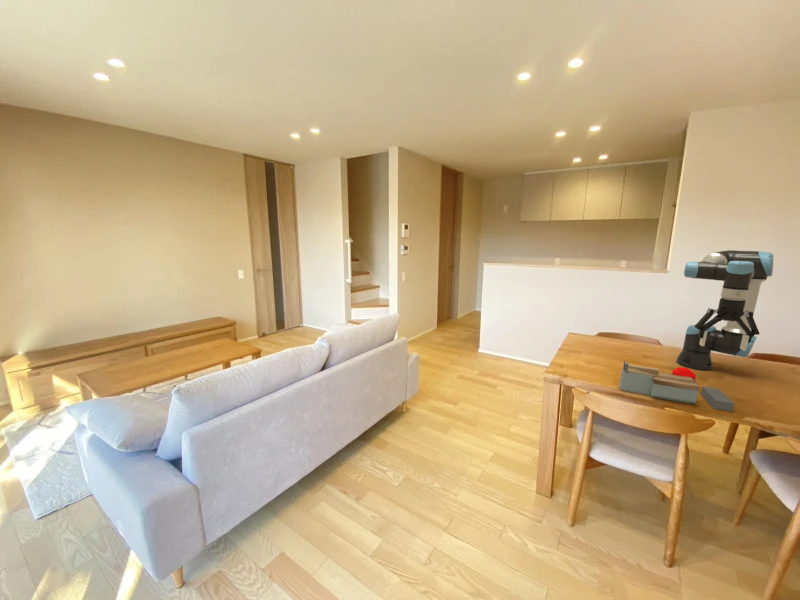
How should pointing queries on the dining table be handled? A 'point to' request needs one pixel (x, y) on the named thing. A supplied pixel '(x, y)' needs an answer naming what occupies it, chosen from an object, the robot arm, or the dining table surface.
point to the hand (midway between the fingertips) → (721, 347)
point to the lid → (676, 381)
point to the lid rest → (717, 399)
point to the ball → (684, 372)
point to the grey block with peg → (635, 381)
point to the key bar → (643, 370)
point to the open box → (673, 393)
